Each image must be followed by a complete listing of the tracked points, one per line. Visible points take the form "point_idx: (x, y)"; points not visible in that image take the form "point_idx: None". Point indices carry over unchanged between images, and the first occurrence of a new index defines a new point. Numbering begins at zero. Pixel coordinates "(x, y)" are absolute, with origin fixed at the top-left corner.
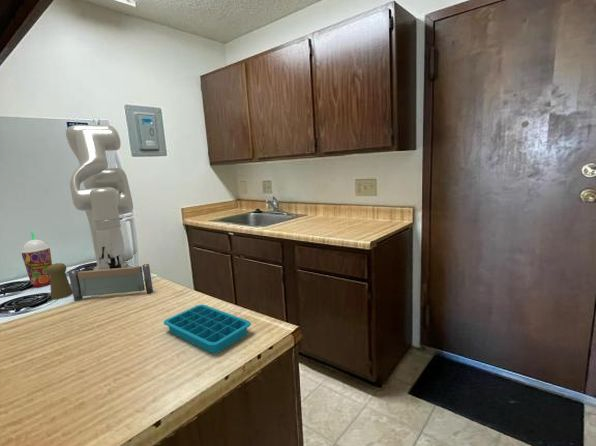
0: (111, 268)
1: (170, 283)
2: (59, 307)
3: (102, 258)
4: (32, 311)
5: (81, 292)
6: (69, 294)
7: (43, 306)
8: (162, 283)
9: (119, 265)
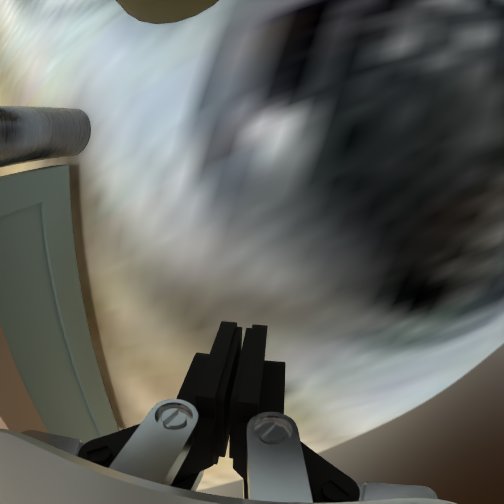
0: (179, 395)
1: (213, 485)
2: (12, 100)
3: (67, 453)
4: (17, 7)
5: (34, 169)
6: (151, 19)
7: (48, 3)
8: (221, 471)
9: (218, 456)
